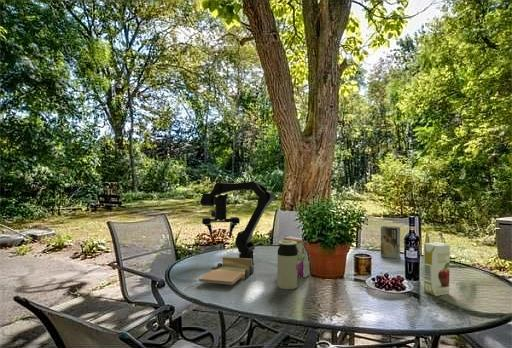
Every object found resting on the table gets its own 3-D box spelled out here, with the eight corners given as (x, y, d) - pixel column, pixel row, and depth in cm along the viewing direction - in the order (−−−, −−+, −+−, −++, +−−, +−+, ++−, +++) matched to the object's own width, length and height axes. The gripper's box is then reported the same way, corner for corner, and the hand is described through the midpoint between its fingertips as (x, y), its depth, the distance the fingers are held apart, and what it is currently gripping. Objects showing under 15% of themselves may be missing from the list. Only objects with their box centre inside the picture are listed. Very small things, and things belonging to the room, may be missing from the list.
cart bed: (220, 269, 178) (221, 256, 178) (254, 272, 173) (254, 258, 173) (210, 276, 165) (210, 262, 165) (246, 279, 161) (246, 265, 161)
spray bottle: (282, 273, 171) (283, 237, 171) (289, 271, 175) (290, 235, 175) (303, 278, 164) (303, 240, 164) (309, 276, 167) (310, 239, 167)
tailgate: (212, 269, 165) (199, 278, 151) (243, 272, 161) (232, 281, 147) (212, 272, 165) (199, 281, 151) (243, 275, 161) (232, 284, 147)
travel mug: (274, 288, 150) (275, 243, 149) (280, 283, 157) (280, 239, 157) (294, 291, 147) (294, 244, 147) (299, 285, 154) (299, 241, 154)
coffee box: (400, 256, 207) (400, 227, 207) (397, 258, 202) (397, 228, 202) (383, 254, 212) (383, 225, 212) (380, 256, 207) (380, 227, 207)
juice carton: (419, 291, 147) (420, 242, 147) (436, 288, 151) (436, 241, 151) (436, 297, 141) (436, 246, 140) (452, 294, 144) (453, 244, 144)
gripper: (236, 205, 204) (236, 234, 204) (201, 205, 200) (201, 235, 200) (239, 207, 193) (239, 238, 193) (202, 207, 189) (202, 239, 189)
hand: (220, 237), depth 194 cm, fingers open, 9 cm apart
